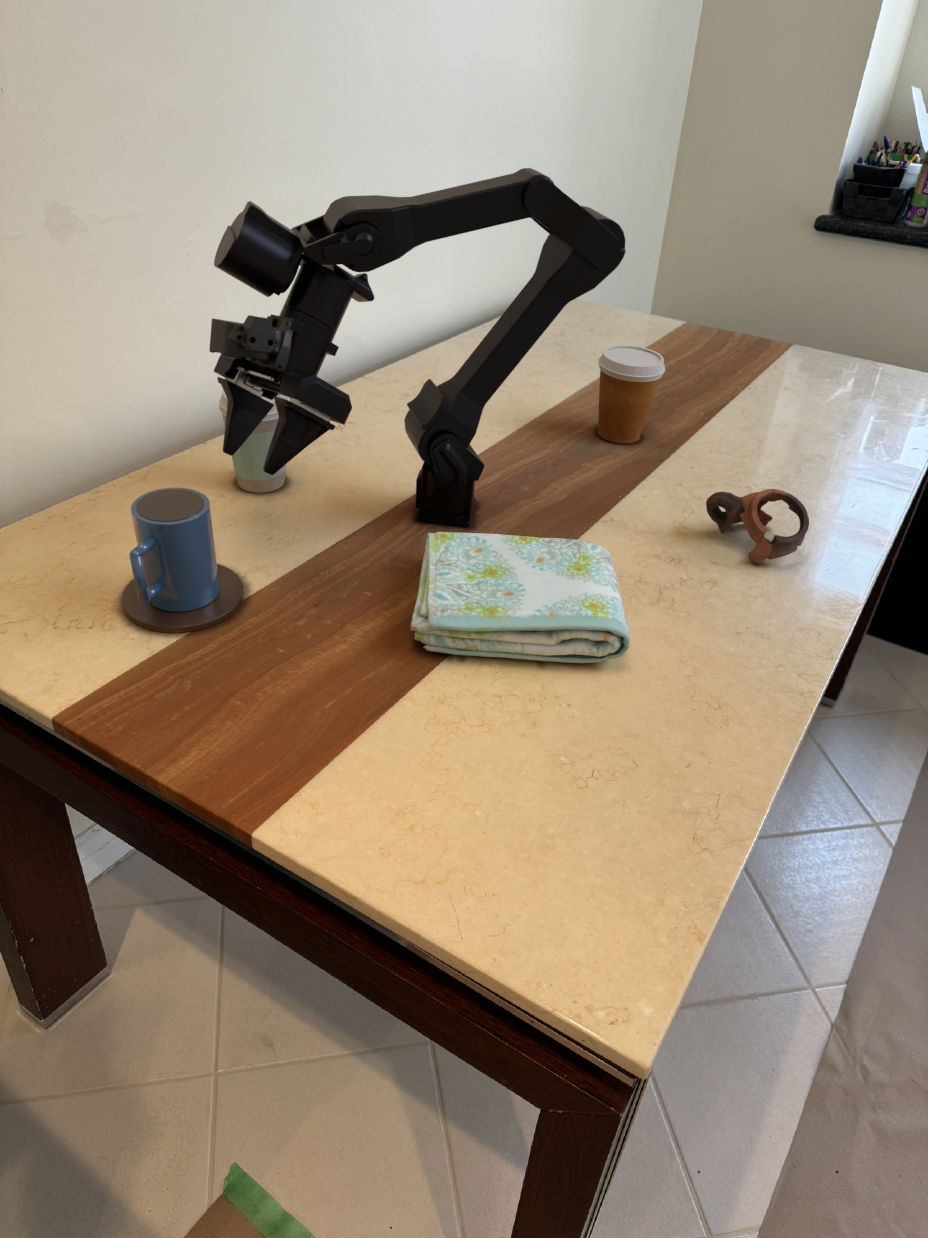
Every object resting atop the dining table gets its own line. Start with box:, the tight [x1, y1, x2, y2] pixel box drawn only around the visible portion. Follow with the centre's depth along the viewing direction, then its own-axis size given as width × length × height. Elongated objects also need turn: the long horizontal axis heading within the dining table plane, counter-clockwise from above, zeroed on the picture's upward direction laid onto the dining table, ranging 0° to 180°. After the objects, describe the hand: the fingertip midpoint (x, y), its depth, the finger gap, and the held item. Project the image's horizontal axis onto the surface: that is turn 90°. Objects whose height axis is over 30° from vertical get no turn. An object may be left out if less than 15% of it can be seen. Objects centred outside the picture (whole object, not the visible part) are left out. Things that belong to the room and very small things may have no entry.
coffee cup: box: [218, 389, 291, 494], centre depth 107 cm, size 9×8×12 cm
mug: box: [128, 487, 220, 612], centre depth 85 cm, size 10×7×10 cm
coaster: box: [121, 563, 245, 634], centre depth 89 cm, size 12×12×1 cm
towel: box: [410, 531, 631, 664], centre depth 90 cm, size 18×21×5 cm
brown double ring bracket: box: [705, 488, 810, 564], centre depth 105 cm, size 12×10×8 cm
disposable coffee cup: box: [597, 344, 666, 444], centre depth 126 cm, size 10×10×12 cm
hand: (246, 463), depth 89 cm, fingers open, 9 cm apart
